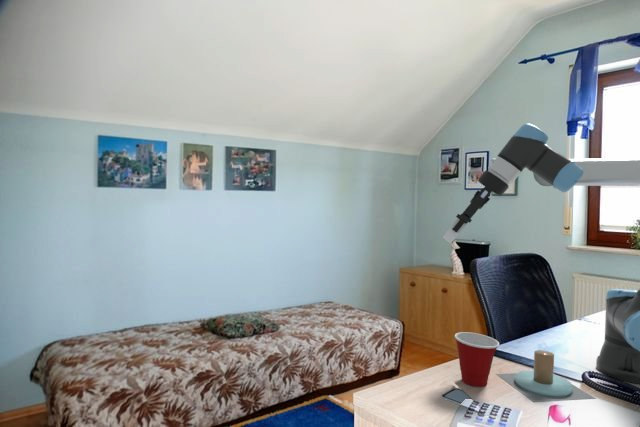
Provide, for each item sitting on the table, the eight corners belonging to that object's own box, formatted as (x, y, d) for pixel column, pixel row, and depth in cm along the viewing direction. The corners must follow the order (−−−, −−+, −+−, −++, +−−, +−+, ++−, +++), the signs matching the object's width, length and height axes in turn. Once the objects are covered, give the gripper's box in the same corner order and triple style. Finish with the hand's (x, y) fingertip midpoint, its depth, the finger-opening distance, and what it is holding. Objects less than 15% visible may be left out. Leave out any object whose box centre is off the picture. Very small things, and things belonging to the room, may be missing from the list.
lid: (549, 374, 118) (550, 343, 118) (585, 395, 105) (586, 362, 105) (504, 376, 116) (505, 345, 116) (535, 398, 103) (536, 364, 103)
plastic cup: (502, 395, 106) (503, 346, 106) (455, 390, 108) (456, 342, 108) (493, 377, 117) (495, 332, 116) (451, 373, 119) (452, 329, 118)
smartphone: (455, 387, 110) (516, 407, 99) (454, 390, 110) (516, 411, 99) (439, 395, 105) (501, 418, 94) (439, 399, 105) (501, 422, 94)
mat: (550, 373, 120) (550, 371, 120) (595, 400, 104) (595, 398, 104) (496, 376, 118) (496, 374, 118) (533, 404, 102) (533, 401, 102)
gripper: (485, 171, 131) (441, 227, 136) (486, 165, 108) (432, 233, 113) (507, 186, 129) (461, 242, 134) (513, 183, 106) (456, 251, 111)
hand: (448, 238), depth 124 cm, fingers open, 13 cm apart
